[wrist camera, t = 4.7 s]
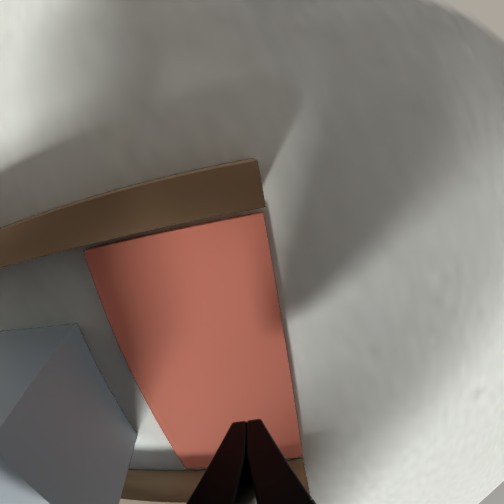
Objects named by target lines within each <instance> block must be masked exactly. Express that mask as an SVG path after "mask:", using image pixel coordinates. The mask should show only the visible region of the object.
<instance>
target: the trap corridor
mask: <svg viewBox="0 0 504 504" xmlns="http://www.w3.org/2000/svg"><path fill="white" fill-rule="evenodd" d="M263 207H266V206H265V200H264V195H263V189H262V184H261V178H260V173H259V167H258V162H257V160H255V159H253V158H252V159H247V160H242V161H236V162H231V163H226V164H221V165H216V166H211V167H207V168H202V169H197V170H193V171H188V172H184V173H180V174H175V175H171V176H167V177H163V178H159V179H155V180H151V181H147V182H143V183H139V184H135V185H131V186H128V187H124V188H120V189H117V190H113V191H110V192H106V193H103V194H99V195H96V196H93V197H89V198H86V199H83V200H80V201H76V202H73V203H70V204H67V205H64V206H61V207H58V208H55V209H52V210H49V211H46V212H43V213H40V214H37V215H34V216H31V217H29V218H26V219H23V220H20V221H18V222H15V223H12V224H10V225H7V226H4V227H2V228H0V268H1V267H4V266H8V265H11V264H15V263H19V262H22V261H26V260H30V259H34V258H37V257H41V256H45V255H49V254H53V253H57V252H61V251H65V250H68V249H73V248H77V247H81V246H85V245H89V244H93V243H97V242H101V241H105V240H110V239H114V238H118V237H123V236H127V235H131V234H136V233H140V232H145V231H149V230H154V229H158V228H163V227H168V226H172V225H177V224H182V223H186V222H191V221H196V220H201V219H206V218H211V217H216V216H221V215H226V214H231V213H236V212H242V211H247V210H252V209H258V208H263ZM84 254H85V257H86V260H87V263H88V266H89V269H90V272H91V275H92V278H93V281H94V283H95V286H96V289H97V292H98V294H99V297H100V300H101V302H102V305H103V308H104V310H105V313H106V315H107V318H108V320H109V323H110V325H111V328H112V330H113V332H114V335H115V337H116V339H117V342H118V344H119V346H120V349H121V351H122V353H123V355H124V357H125V360H126V362H127V364H128V366H129V368H130V370H131V372H132V374H133V376H134V378H135V380H136V382H137V384H138V386H139V388H140V390H141V392H142V394H143V396H144V398H145V400H146V402H147V404H148V406H149V408H150V409H151V411H152V413H153V415H154V417H155V419H156V420H157V422H158V424H159V426H160V427H161V429H162V431H163V433H164V434H165V436H166V438H167V439H168V441H169V443H170V444H171V446H172V448H173V449H174V451H175V452H176V454H177V456H178V457H179V459H180V460H181V462H182V463H183V465H184V467H185V468H186V469H193V468H207V467H208V465H209V464H210V462H211V460H212V458H213V457H214V455H215V453H216V451H217V449H218V448H219V446H220V444H221V442H222V440H223V439H224V437H225V435H226V433H227V431H228V429H229V428H230V426H231V424H232V423H233V422H238V421H246V422H247V421H248V420H253V419H261V420H262V421H263V423H264V425H265V426H266V428H267V430H268V431H269V433H270V434H271V436H272V438H273V439H274V441H275V442H276V444H277V446H278V447H279V449H280V450H281V452H282V454H283V455H284V457H285V458H286V459H289V458H295V457H300V456H303V455H302V448H301V441H300V434H299V428H298V421H297V414H296V408H295V401H294V395H293V388H292V382H291V375H290V369H289V362H288V356H287V350H286V344H285V337H284V331H283V325H282V319H281V313H280V307H279V301H278V295H277V289H276V283H275V277H274V271H273V266H272V260H271V254H270V248H269V243H268V237H267V231H266V225H265V220H264V214H263V212H259V213H254V214H248V215H243V216H238V217H233V218H228V219H222V220H217V221H212V222H207V223H202V224H197V225H192V226H188V227H183V228H178V229H173V230H168V231H164V232H159V233H154V234H150V235H145V236H141V237H136V238H132V239H127V240H123V241H118V242H114V243H110V244H105V245H101V246H97V247H92V248H88V249H86V250H84ZM288 463H289V464H290V466H291V467H292V469H293V471H294V472H295V474H296V475H297V477H298V478H299V480H300V481H301V483H302V484H303V486H304V487H305V489H306V490H307V491H308V493H309V487H308V482H307V477H306V472H305V467H304V462H303V458H301V459H295V460H290V461H288ZM205 471H206V470H193V471H150V470H129V469H128V471H127V475H126V479H125V482H124V486H123V490H122V494H121V498H120V502H119V504H186V503H187V501H188V500H189V498H190V496H191V495H192V493H193V491H194V490H195V488H196V486H197V485H198V483H199V481H200V479H201V478H202V476H203V474H204V472H205ZM309 494H310V493H309Z"/></svg>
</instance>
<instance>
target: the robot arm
mask: <svg viewBox="0 0 504 504" xmlns="http://www.w3.org/2000/svg"><path fill="white" fill-rule="evenodd" d="M186 504H316V503H315V501H314V500H313V499H312V497H311V496H310V494H309V493H308V491H307V490H306V489H305V487H304V486H303V484H302V483H301V481H300V480H299V478H298V477H297V475H296V474H295V472H294V471H293V469H292V467H291V466H290V464H289V463H288V461H287V460H286V458H285V457H284V455H283V454H282V452H281V450H280V449H279V447H278V446H277V444H276V442H275V441H274V439H273V438H272V436H271V434H270V433H269V431H268V430H267V428H266V426H265V425H264V423H263V421H262V420H261V419H253V420H248V421H247V422H246V421H238V422H233V423H232V424H231V426H230V428H229V429H228V431H227V433H226V435H225V437H224V439H223V440H222V442H221V444H220V446H219V448H218V449H217V451H216V453H215V455H214V457H213V458H212V460H211V462H210V464H209V465H208V467H207V469H206V471H205V472H204V474H203V476H202V478H201V479H200V481H199V483H198V485H197V486H196V488H195V490H194V491H193V493H192V495H191V496H190V498H189V500H188V501H187V503H186Z"/></svg>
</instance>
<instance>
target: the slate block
mask: <svg viewBox="0 0 504 504" xmlns="http://www.w3.org/2000/svg"><path fill="white" fill-rule="evenodd" d="M136 439H137V434H136V432H135V431H134V429H133V427H132V426H131V424H130V423H129V421H128V420H127V418H126V416H125V415H124V413H123V411H122V410H121V408H120V406H119V405H118V403H117V401H116V399H115V398H114V396H113V394H112V392H111V391H110V389H109V387H108V385H107V383H106V382H105V380H104V378H103V376H102V374H101V372H100V370H99V368H98V366H97V364H96V362H95V360H94V358H93V356H92V354H91V352H90V350H89V348H88V346H87V344H86V342H85V340H84V338H83V335H82V333H81V331H80V329H79V327H78V324H77V323H73V324H65V325H56V326H47V327H38V328H28V329H18V330H7V331H0V504H119V502H120V498H121V494H122V490H123V486H124V482H125V479H126V475H127V471H128V467H129V464H130V460H131V457H132V453H133V449H134V446H135V442H136Z"/></svg>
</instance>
